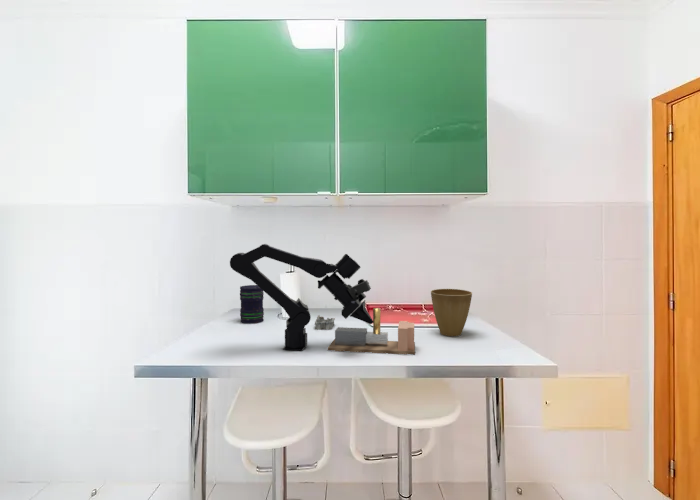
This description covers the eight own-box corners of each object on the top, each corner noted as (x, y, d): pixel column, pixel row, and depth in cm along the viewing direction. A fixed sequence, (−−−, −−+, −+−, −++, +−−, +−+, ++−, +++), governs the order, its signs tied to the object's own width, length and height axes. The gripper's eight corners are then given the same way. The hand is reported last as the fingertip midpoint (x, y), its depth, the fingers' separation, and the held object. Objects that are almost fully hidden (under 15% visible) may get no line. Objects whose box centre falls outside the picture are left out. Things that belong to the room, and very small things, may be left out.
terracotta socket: (397, 350, 125) (398, 328, 125) (399, 341, 135) (399, 321, 135) (414, 351, 124) (414, 328, 124) (414, 342, 134) (414, 321, 134)
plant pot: (422, 331, 153) (423, 289, 152) (455, 328, 159) (455, 287, 158) (445, 341, 139) (445, 295, 139) (480, 337, 145) (480, 293, 144)
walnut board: (327, 350, 128) (327, 347, 128) (334, 341, 139) (334, 338, 139) (414, 354, 124) (414, 351, 124) (414, 344, 135) (414, 342, 135)
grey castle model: (318, 324, 167) (318, 314, 167) (336, 324, 166) (336, 314, 166) (312, 330, 156) (312, 319, 156) (331, 330, 155) (331, 320, 155)
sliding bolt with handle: (344, 342, 132) (344, 308, 131) (346, 339, 134) (346, 306, 134) (387, 344, 129) (387, 309, 129) (387, 341, 132) (387, 308, 132)
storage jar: (235, 322, 169) (234, 287, 168) (251, 318, 178) (250, 284, 177) (253, 324, 164) (252, 288, 164) (268, 320, 173) (268, 285, 172)
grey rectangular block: (335, 345, 131) (335, 330, 131) (337, 341, 136) (337, 327, 136) (365, 346, 130) (365, 331, 129) (367, 342, 134) (367, 328, 134)
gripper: (351, 275, 122) (387, 311, 121) (359, 269, 141) (391, 301, 139) (326, 300, 124) (362, 336, 123) (337, 291, 142) (368, 322, 141)
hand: (372, 323), depth 131 cm, fingers closed
